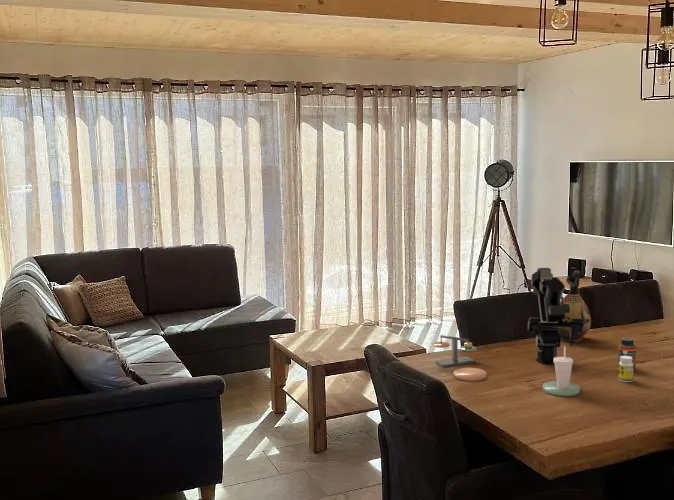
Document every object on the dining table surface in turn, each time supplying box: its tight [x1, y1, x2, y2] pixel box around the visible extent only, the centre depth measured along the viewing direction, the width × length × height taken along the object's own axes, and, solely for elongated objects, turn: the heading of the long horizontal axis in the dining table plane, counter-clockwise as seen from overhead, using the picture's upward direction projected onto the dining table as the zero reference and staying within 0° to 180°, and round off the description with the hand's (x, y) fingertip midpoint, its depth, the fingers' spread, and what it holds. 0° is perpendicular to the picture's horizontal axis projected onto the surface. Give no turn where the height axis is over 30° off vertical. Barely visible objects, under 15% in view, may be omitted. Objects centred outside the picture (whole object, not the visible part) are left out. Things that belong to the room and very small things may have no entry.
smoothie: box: [553, 346, 574, 389], centre depth 224 cm, size 6×6×14 cm
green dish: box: [542, 380, 581, 397], centre depth 225 cm, size 12×12×1 cm
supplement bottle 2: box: [617, 356, 634, 383], centre depth 232 cm, size 5×5×8 cm
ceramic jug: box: [558, 270, 592, 343], centre depth 286 cm, size 17×15×30 cm
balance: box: [432, 334, 477, 368], centre depth 259 cm, size 18×6×12 cm, turn 110°
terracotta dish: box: [453, 367, 488, 382], centre depth 243 cm, size 12×12×1 cm
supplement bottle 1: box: [617, 337, 637, 371], centre depth 245 cm, size 6×6×11 cm
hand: (557, 345), depth 231 cm, fingers open, 9 cm apart
